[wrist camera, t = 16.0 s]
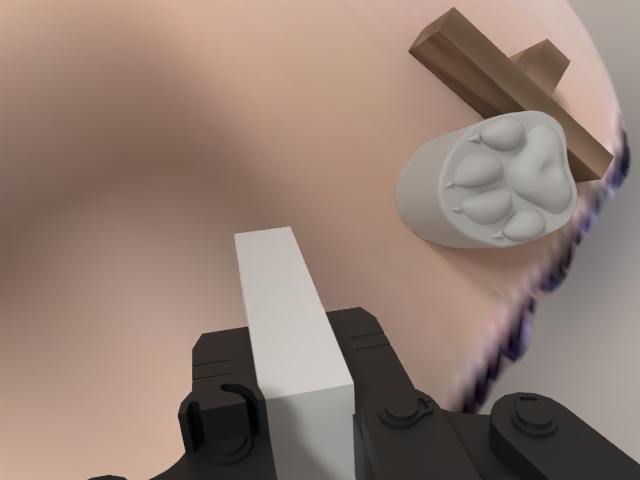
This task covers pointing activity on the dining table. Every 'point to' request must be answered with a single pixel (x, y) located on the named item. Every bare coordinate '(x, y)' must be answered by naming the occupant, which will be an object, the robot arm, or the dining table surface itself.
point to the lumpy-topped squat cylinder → (489, 183)
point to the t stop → (507, 83)
